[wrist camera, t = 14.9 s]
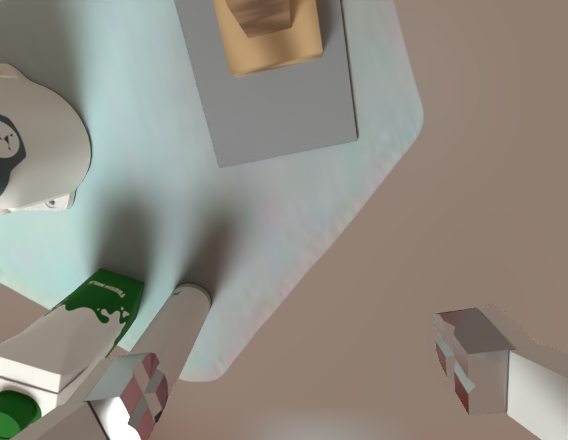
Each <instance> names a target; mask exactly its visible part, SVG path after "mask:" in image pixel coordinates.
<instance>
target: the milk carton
mask: <svg viewBox="0 0 568 440" xmlns="http://www.w3.org/2000/svg"><path fill="white" fill-rule="evenodd" d="M143 285H144V283H142V282H139V281H136V280H133V279H130V278H127V277H124V276H121V275H118V274H115V273H112V272H109V271H106V270H102V269H99V270H98V271H96V272H95V273H94V274H93V275H92V276H91V277H90V278H88V279H87V280H86V281H85V282H84V283H83V284H82V285H81V286H79V287H78V288H77V289H76V290H75V291H74V292H73V293H71V294H70V295H69V296H68V297H66V298H65V299H64V300H63V301H61V302H60V303H59V304H57V305H56V306H55V307H54V308H52V309H51V310H50V311H48V312H47V313H46V314H45V315H43V316H42V317H41V318H39V319H38V320H37V321H36V322H34V323H33V324H32V325H31V326H29V327H28V328H27V329H26V330H24V331H23V332H21V333H20V334H18V335H16V336H14V337H12V338H10V339H8V340H6V341H4V342H3V343H1V344H0V440H9V439H11V438H12V437H14V436H15V435H16V434H18V433H19V432H21V431H22V430H24V429H25V428H26V427H27V426H28V425H29V424H30V423H34V422H35V421H37V420H38V419H40V418H41V417H43V416H44V415H45V414H47V413H48V412H50V411H51V410H53V409H54V408H56V407H57V406H59V405H64V404H65V403H66V402H67V400H68V399H69V398H70V397H71V396H72V394H73V393H74V392H75V391H76V389H77V388H78V387H79V386H80V385H81V383H82V382H83V381H84V380H85V378H86V377H87V376H88V375H89V374H90V372H91V371H92V370H93V369H94V367H95V366H96V365H97V364H98V363H99V361H100V360H102V359H104V358H107V356H108V355H109V354H110V352H111V351H112V350H113V349H114V347H115V346H116V345H117V344H118V342H119V341H120V340H121V339H122V337H123V336H124V335H125V334H126V332H127V331H128V329H129V328H130V326H131V325H132V323H133V322H134V320H135V319H136V315H137V310H138V306H139V302H140V298H141V293H142V289H143Z"/></svg>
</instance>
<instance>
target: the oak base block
mask: <svg viewBox="0 0 568 440" xmlns="http://www.w3.org/2000/svg"><path fill="white" fill-rule="evenodd" d="M213 2H214V7H215V11H216V15H217V20H218V24H219V28H220V32H221V37H222V41H223V45H224V49H225V54H226V58H227V62H228V67H229V71H230V74H232V75H234V76H235V77H237V78H238V77H243V76H247V75H251V74H255V73H260V72H264V71H268V70H273V69H277V68H281V67H286V66H290V65H294V64H299V63H303V62H307V61H312V60H316V59H320V58H321V56H322V53H323V48H322V41H321V34H320V27H319V20H318V13H317V6H316V0H289V8H290V20H291V28H289V29H285V30H281V31H277V32H273V33H269V34H265V35H261V36H257V37H253V38H248V37H247V36H246V34H245V33H244V31H243V29H242V28H241V26H240V25H239V23H238V22H237V20H236V19H235V17H234V16H233V14H232V13H231V11H230V9H229V8H228V6H227V4H226V0H213Z"/></svg>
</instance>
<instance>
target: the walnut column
mask: <svg viewBox="0 0 568 440" xmlns="http://www.w3.org/2000/svg"><path fill="white" fill-rule="evenodd" d="M226 4H227V6H228V8H229V9H230V11H231V13H232V14H233V16H234V17H235V19H236V20H237V22H238V23H239V25H240V26H241V28H242V29H243V31H244V33H245V34H246V36H247V37H248V38H253V37H257V36H261V35H265V34H269V33H273V32H277V31H281V30H285V29H289V28H291V20H290V8H289V0H226Z"/></svg>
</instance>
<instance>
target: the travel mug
mask: <svg viewBox="0 0 568 440" xmlns="http://www.w3.org/2000/svg"><path fill="white" fill-rule="evenodd" d="M210 308H211V298H210V296H209V294H208V293H207V291H206V290H205V289H203V288H202V287H200V286H198V285H196V284H182V285H180V286H178V287H177V288H176V289H175V290H174V291H173V292H172V294H171V295H170V297H169V298H168V299H167V301H166V302H165V304H164V305H163V306H162V308H161V309H160V311H159V312H158V313H157V315H156V316H155V318H154V319H153V320H152V322H151V323H150V325H149V326H148V327H147V329H146V330H145V332H144V333H143V334H142V336H141V337H140V339H139V340H138V341H137V343H136V344H135V346H134V347H133V348H132V350H131V351H130V353H129V354H128V355H131V354H140V353H149V352H151V353H155V354H156V356H157V358H158V360H159V362H160V363H159V366H158V368H157V369H158V370H159V371H161V372H162V373H163V374H165V377H166V379H167V384H168V393H167V400H166V402H165V405H166V404H167V402H168V400H169V397H170V395H171V393H172V391H173V389H174V387H175V385H176V382H177V380H178V378H179V376H180V374H181V371H182V369H183V367H184V365H185V363H186V361H187V358H188V356H189V354H190V352H191V350H192V348H193V345H194V343H195V341H196V339H197V337H198V334H199V332H200V330H201V328H202V326H203V324H204V321H205V319H206V317H207V315H208V313H209V310H210ZM165 405H164V407H165ZM164 407H163V409H164ZM163 409H162V410H161V411H160V412H159V413H158V414H157V415H156V416H155V417H154V420H155V424H156V423H157V422H158V420H159V418H160V416H161V414H162V411H163Z"/></svg>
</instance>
